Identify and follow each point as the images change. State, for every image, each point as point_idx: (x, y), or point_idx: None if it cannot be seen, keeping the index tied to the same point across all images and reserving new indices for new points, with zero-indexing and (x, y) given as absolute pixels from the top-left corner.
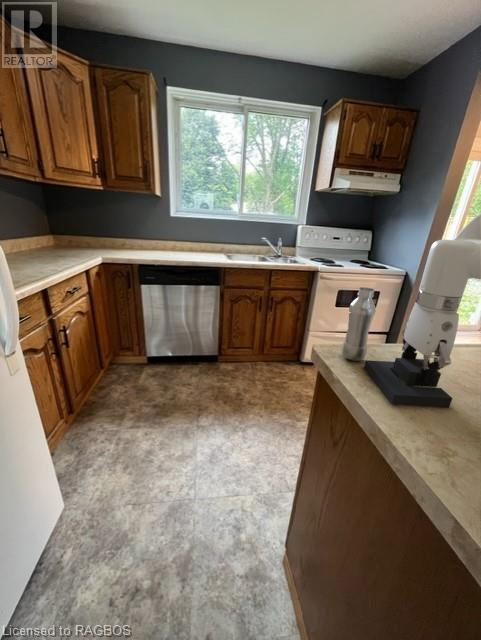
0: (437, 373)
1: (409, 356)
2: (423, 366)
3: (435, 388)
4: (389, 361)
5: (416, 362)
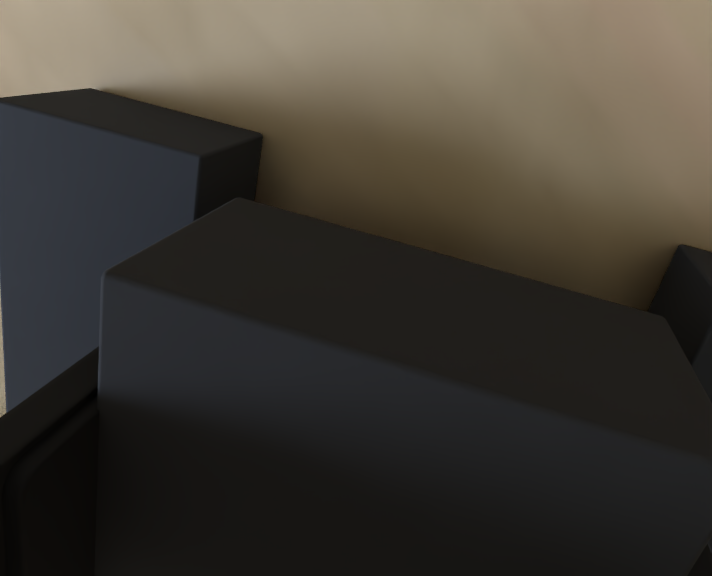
0: (707, 533)
1: (67, 545)
2: (395, 542)
3: (709, 397)
4: (7, 395)
5: (239, 523)
